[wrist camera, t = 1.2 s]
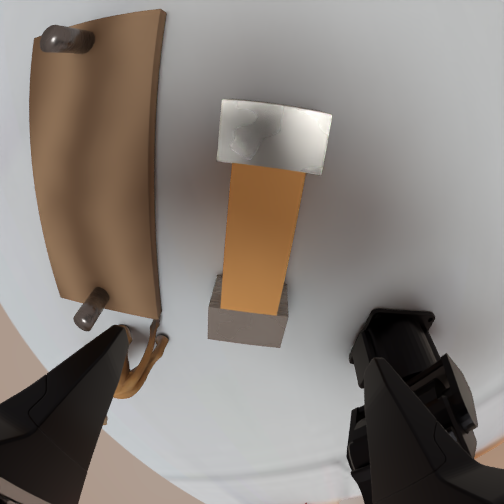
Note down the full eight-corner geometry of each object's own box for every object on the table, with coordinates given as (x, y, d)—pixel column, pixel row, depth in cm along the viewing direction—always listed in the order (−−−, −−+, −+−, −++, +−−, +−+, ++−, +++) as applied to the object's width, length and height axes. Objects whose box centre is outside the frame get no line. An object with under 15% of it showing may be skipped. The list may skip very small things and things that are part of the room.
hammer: (320, 110, 15) (332, 114, 12) (279, 314, 23) (279, 347, 19) (232, 98, 15) (222, 99, 12) (215, 306, 22) (207, 338, 19)
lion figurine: (120, 381, 30) (96, 443, 22) (84, 357, 29) (53, 417, 21) (183, 329, 24) (155, 419, 16) (132, 293, 22) (85, 379, 15)
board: (166, 12, 12) (134, -8, 8) (161, 311, 23) (144, 351, 19) (42, 38, 12) (0, 37, 8) (65, 290, 23) (41, 322, 19)
